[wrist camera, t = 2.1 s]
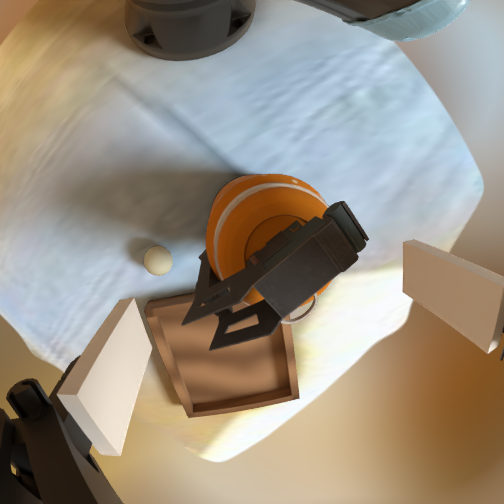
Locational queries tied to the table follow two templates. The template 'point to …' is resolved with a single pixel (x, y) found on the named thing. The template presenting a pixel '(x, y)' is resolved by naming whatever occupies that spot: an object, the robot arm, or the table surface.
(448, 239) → the table surface
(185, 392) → the tray
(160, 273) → the ball
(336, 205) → the canister
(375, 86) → the table surface
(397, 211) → the table surface
